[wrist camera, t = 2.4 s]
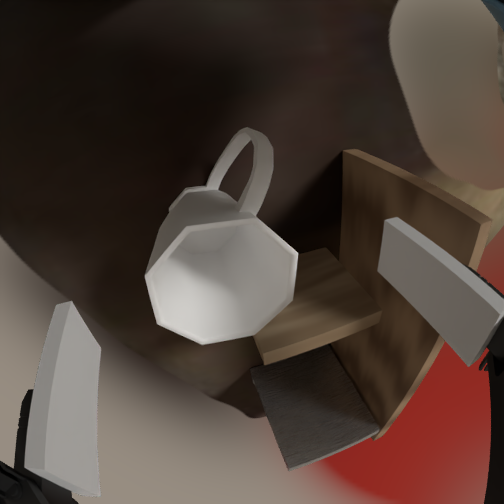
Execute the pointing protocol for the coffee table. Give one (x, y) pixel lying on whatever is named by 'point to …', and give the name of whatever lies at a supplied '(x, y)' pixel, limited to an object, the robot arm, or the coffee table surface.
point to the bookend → (312, 406)
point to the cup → (221, 256)
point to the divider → (317, 309)
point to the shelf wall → (382, 292)
